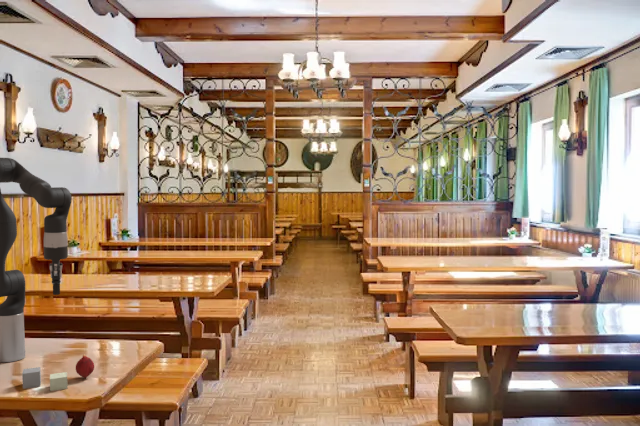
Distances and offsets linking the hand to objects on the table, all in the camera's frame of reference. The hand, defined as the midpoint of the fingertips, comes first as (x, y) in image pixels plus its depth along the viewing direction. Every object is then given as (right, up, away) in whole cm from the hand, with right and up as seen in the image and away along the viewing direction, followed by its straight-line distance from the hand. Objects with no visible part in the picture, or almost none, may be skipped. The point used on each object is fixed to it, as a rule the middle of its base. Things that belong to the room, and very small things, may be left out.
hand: (56, 294), depth 195 cm
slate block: (-2, -28, -12) cm, 31 cm away
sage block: (+8, -28, -15) cm, 32 cm away
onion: (+13, -28, -6) cm, 31 cm away
